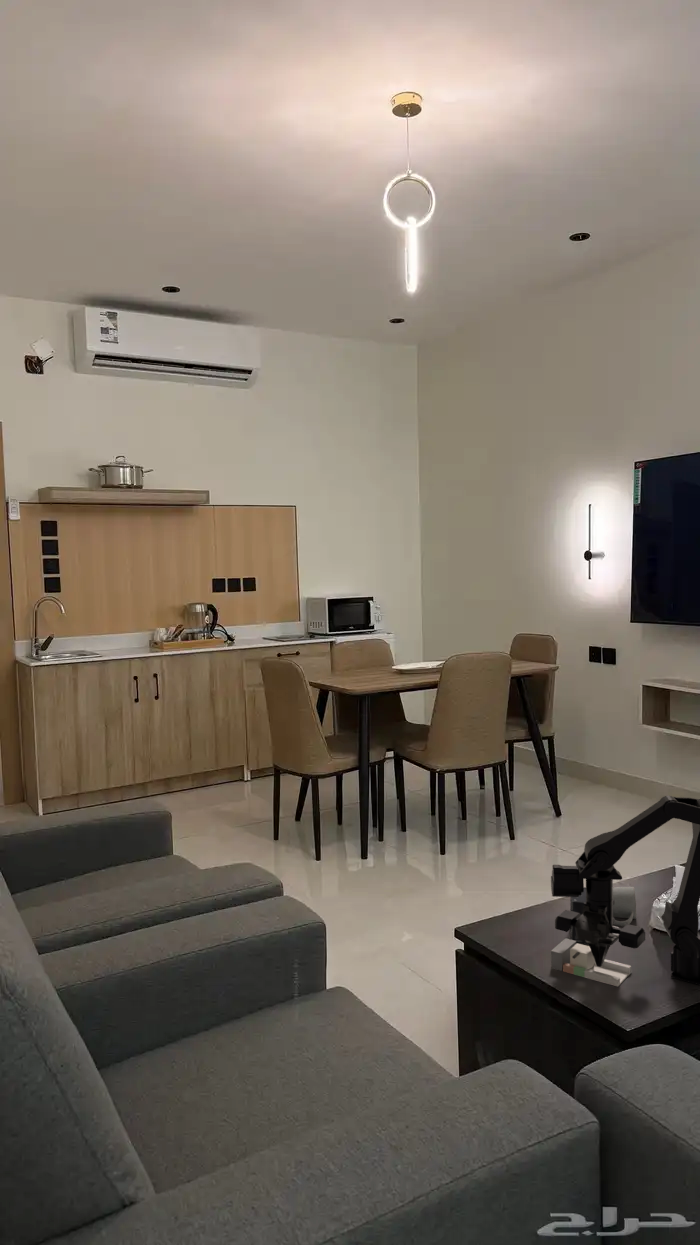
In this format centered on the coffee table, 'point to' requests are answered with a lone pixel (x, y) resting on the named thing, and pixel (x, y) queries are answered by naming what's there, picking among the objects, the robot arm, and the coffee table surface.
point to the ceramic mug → (624, 904)
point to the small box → (577, 907)
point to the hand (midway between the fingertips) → (599, 966)
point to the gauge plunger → (581, 956)
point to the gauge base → (606, 973)
